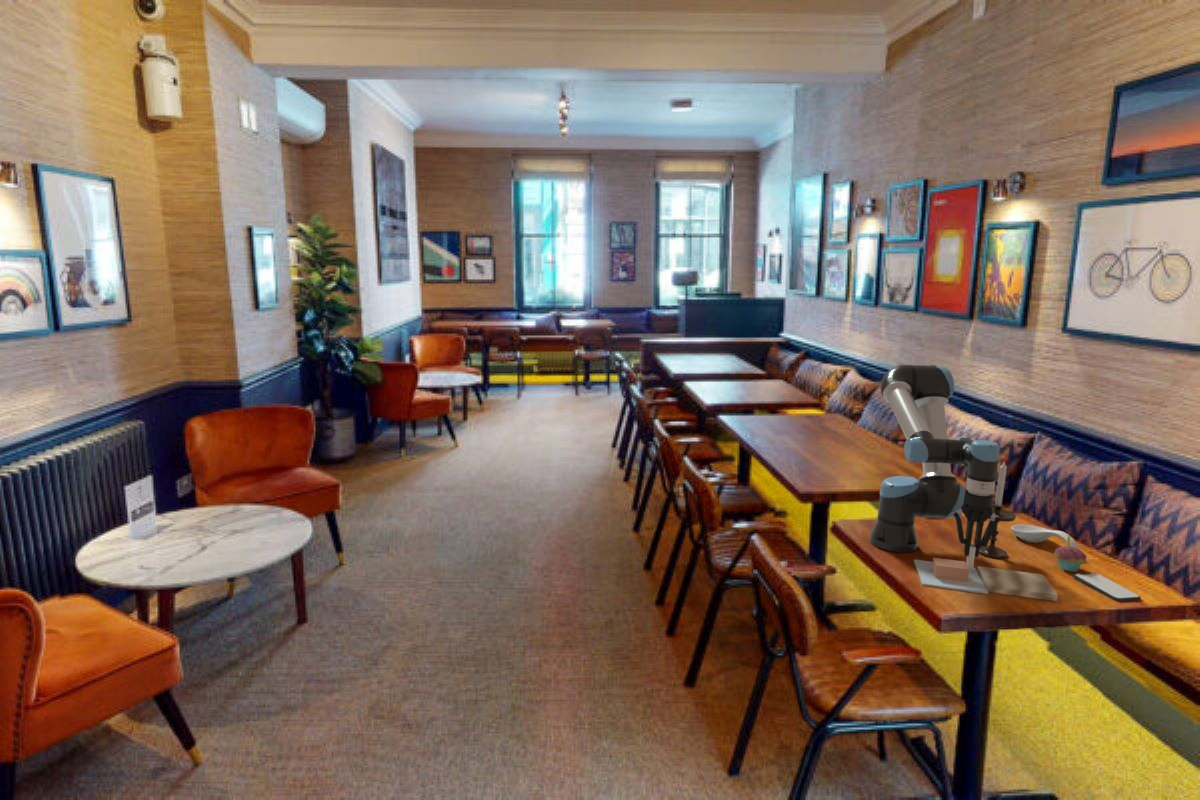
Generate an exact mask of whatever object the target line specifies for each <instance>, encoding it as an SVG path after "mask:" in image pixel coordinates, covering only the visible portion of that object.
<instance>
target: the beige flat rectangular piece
mask: <svg viewBox="0 0 1200 800" xmlns="http://www.w3.org/2000/svg"><path fill="white" fill-rule="evenodd" d="M976 568H977V569H976V570H977V572H978V574H979V576H980V578H981V580H982V582H983V583H984V585H985V587H986V589H987V591H988V593H994V594H1003V595H1009V596H1010V595H1011V596H1016V597H1017V596H1018V597H1023V598H1030V599H1036V600H1037V599H1039V600H1045V601H1051V602H1052V601H1053V602H1058V598H1059V594H1058V593H1057V591H1056V590H1055V589H1054V587H1053V586H1052V585H1051V584H1050V583H1049V581H1048V579H1047V578H1046V576H1044V574H1043V573H1042V574H1040V573H1034V572H1033V573H1032V572H1028V571H1019V570H1012V569H1011V570H1010V569H1004V568H995V567H989V566H988V567H987V566H981V565H980V566H979V565H978V566H977V567H976Z"/></svg>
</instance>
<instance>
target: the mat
mask: <svg viewBox="0 0 1200 800" xmlns="http://www.w3.org/2000/svg"><path fill="white" fill-rule="evenodd" d="M913 563H914V565H915V568H916V571H917V574H918V578H919V580H920V582H921V586H927V587H934V588H941V589H947V590H954V591H961V592H967V593H974V594H975V593H976V594H982V595H989V592H988V591H987V589H986V587H985V585H984V583H983V582H982V580H981V578H980V576H979V574H978V572H977V569H976V567H974V566H973V568H972V567H968V568H969V575H968V582H964V581H957V580H950V579H943V578H935V576H934V574H933V571H932V564H933V561H928V560H921V559H913Z"/></svg>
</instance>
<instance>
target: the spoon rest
mask: <svg viewBox="0 0 1200 800" xmlns="http://www.w3.org/2000/svg"><path fill="white" fill-rule="evenodd" d="M1010 529H1011V531H1012V533H1013V534H1014V535H1015V536H1016V537H1018V538H1019V539H1021V540H1022V541H1024V540H1025V541H1024V542H1027V541H1028V542H1027V543H1031V542H1033V543H1034V544H1039V542H1040V543H1041V542H1045V541H1046V540H1048V539H1050V538H1051V537H1054V536H1055V537H1059V538H1061V539H1062V540H1063V541H1064V543H1066V545H1067V542H1068V534H1069V533H1066V532H1064V531H1062V530H1056V529H1055V530H1053V529H1048V528H1045V527H1041V526H1037V525H1031V524H1015V525H1012V526H1010ZM1033 543H1032V544H1033ZM1070 546H1071V547H1075V548H1077V549H1079V550H1080V547H1079V545H1078V543H1077V542H1076V541H1075V539H1074V538H1073V537H1072V536H1070Z"/></svg>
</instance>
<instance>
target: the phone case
mask: <svg viewBox="0 0 1200 800" xmlns="http://www.w3.org/2000/svg"><path fill="white" fill-rule="evenodd" d="M1073 579H1074V580H1076V581H1077V582H1079V583H1081V584H1083V585H1084V586H1086V587H1088V588H1090V589H1092V590H1094V591H1096V592H1098V593H1100V594H1101V595H1104V596H1105V597H1107V598H1109V599H1110V600H1112V601H1115V602H1121V603H1122V602H1137V601H1141V596H1140V595H1139V594H1137V593H1135V592H1133V591H1131V590H1130V589H1127V588H1126V587H1124V586H1122V585H1120V584H1118V583H1116V582H1115V581H1113V580H1111V579H1109V578H1108V577H1105V576H1104V575H1101V574H1099V573H1097V572H1083V573H1074V574H1073Z"/></svg>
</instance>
